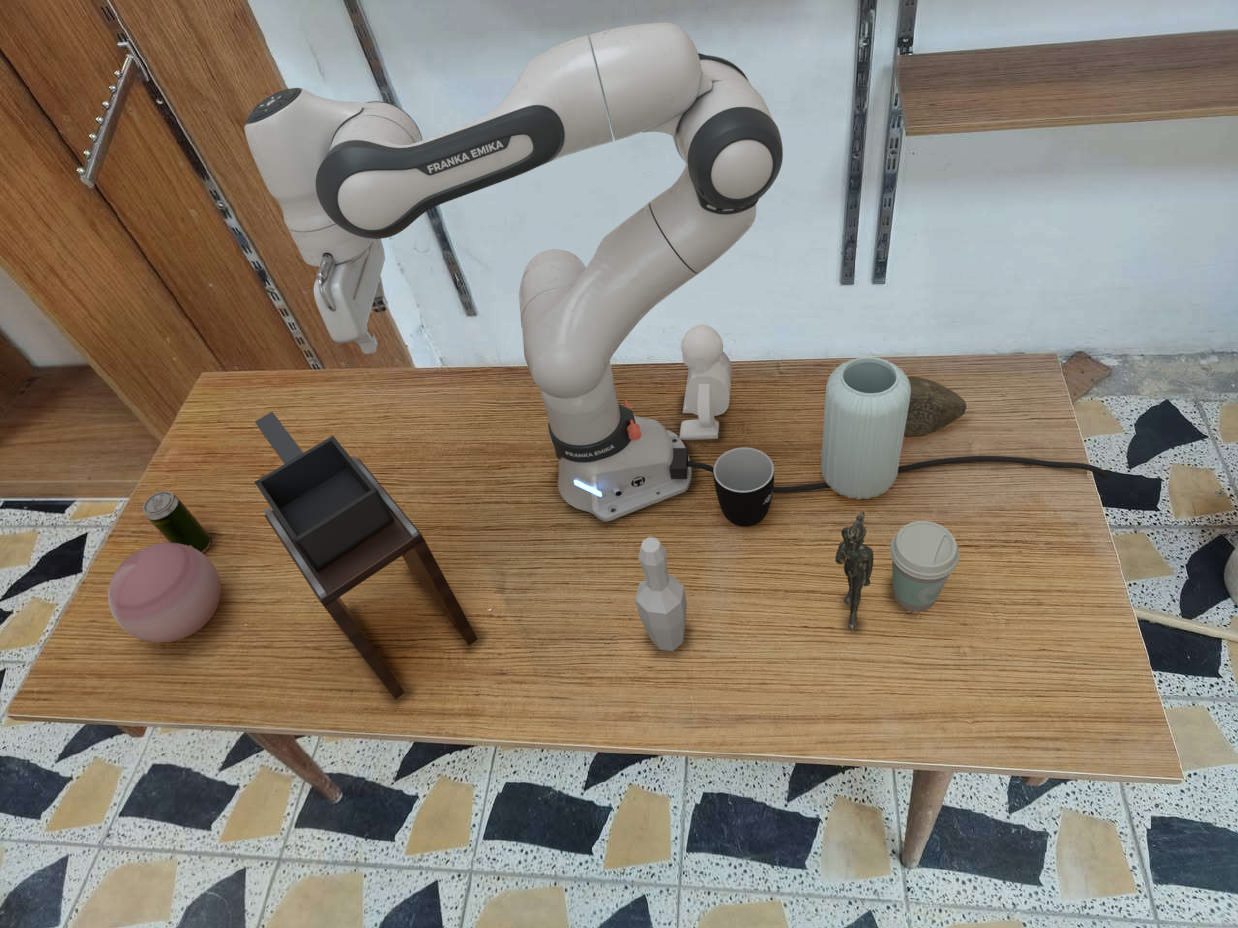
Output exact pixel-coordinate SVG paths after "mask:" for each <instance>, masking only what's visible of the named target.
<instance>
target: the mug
mask: <svg viewBox="0 0 1238 928" xmlns="http://www.w3.org/2000/svg"><path fill="white" fill-rule="evenodd" d="M713 467H714V469H713V473H712V475H713V483H714V489H715V494H716V498H717V501H718V504H719V507H720V510H721V512H722V514H723V515H724V517H725V518H726V520H727V521H729V523H731V524H732V525H735V526H737V527H741V528H750V527H753V526H755V525H758V524H760V523H761V522H763V520H764V519H765V518H766V517H767V514H768V513H769V511H770V507H771V504H772V500H773V494H774V493H773V487H775V486H774V485H775V465H774V462H773V461H772V459H771V457H770V456H769V455H767V453H765V452H763V451H762V450H759V449H757V448H753V447H744V446H743V447H736V448H732V449H729V450H727V451H725V452H723V453H722V454H721V455H720V456H719V457H718V458H717V459H716V461H715V462H714V465H713Z"/></svg>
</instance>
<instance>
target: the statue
mask: <svg viewBox="0 0 1238 928" xmlns="http://www.w3.org/2000/svg"><path fill="white" fill-rule="evenodd" d="M865 514H866V512H865V511H864V510H860V512H859V514H858V515H856V517H855V518H856V519H855V522H854V523H853V524H852V525H850V526H845V527H844V528H842V529H841V536H842V539H843V541H840V542H839V544H838V546H837V550H836V553H835V563H836V564H838V565H843V572H844V575H845V576H846V578H847V579H846V580H847V583H848V584H847V585H848V591H847V594H846V595H845V597H844V598H843V602H844V604H845V605H847V606H850V610H849V620H848V625H847V626H848V627H847V628H848V629H849V630H850V631H854V630H856V629H857V627H858V622H857V620H858V619H857V618H858V617H857V614H858V609H859V605H860V603H861V598H862V589H863V587H864V588H866V587H869V586H870V585H871V575H872V574H873V573H872V572H873V567H874V550H873V549H872V547H870V546H868V545H866V544H864V543H865V540H864V538H865V537H866V535H867V527H866V526H865V524H864V521H865V516H866V515H865Z"/></svg>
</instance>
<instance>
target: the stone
mask: <svg viewBox="0 0 1238 928" xmlns="http://www.w3.org/2000/svg"><path fill="white" fill-rule="evenodd" d="M907 377H908V379H909V382H910V386H911V395H910V402H909V408H908V414H907V420H906V425H905V431H904V437H907V438H917V437H925V436H927V435H930V434H933V433H936V432H938V431H940V430H942V429H943V428H945V427H947V426H948V425H950V424H952V423H953V422H955V421H957V420H958V419H960V418H961V417H962V416H964V415H965V413H966V410H967V408H968V407H967V403H966V401H965V400H964V399H963V398H962V397H961V396H960V395H959V394H958V393H957V392H955V391H953V390H951V389H950V388H948V387H946V386H944V385H942V384H940V383H938V382H936V381H934V380H930V379H928V378H924V377H920V376H916V375H910V376H907Z"/></svg>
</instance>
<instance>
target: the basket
mask: <svg viewBox="0 0 1238 928" xmlns="http://www.w3.org/2000/svg"><path fill="white" fill-rule="evenodd" d="M254 423H255V425H256V426H257V427H258V429H259V430H260V432H261V433H262V435H263V436H264V438H265V439H266V440H267V442H268V443H269V444H270V446H271V448H272V449H273V450H274V451H275V453H276V455H277V456H278V457H279V458H280V460H281V461H282V463H283V464H282V465H281V466H279V467H277V468H275V469H273V470H272V471H271V472H269V473H266V475H264V476H262V477H261V478H259V479H256V481H254V484H255V485H256V488H258V490H259V491H260V493H261V494H262V496H263V497H264V499H265V501H266V502H267V503H268V505H269V507H270V509H271V510H273V511H274V512H275V514H276V515H277V517H278V518H279V520H280V521H281V523H282V524H283V526H284V527H285V529H286V530H287V532H288V533H289V535H290V536H291V538H292V539H293V541H294V542H295V544H296V545H297V546H298V548H299V549H300V551H301V552H302V553H303V555H304V556H305V557H306V559H307V560H308V561H309V563H310V564H311V565H312V567H313V568H314V570H315V571H317V570H319V569H320V568H322V567H323V566H325V565H326V564H328V563H329V562H331V561H333V560H334V559H336V558H337V557H339V556H340V555H342V554H343V553H345V552H346V551H348V550H350V549H351V548H353V547H354V546H356V545H357V544H359V543H360V542H362V541H363V540H365V539H366V538H368V537H370V536H371V535H373V534H374V533H376V532H377V531H379V530H380V529H382V528H383V527H385V526H387V525H388V524H390V523H391V522H393V521H394V518H393V516H392V515H391V513H390V511H389V509H388V507H387V506H386V504H385V502H384V500H383V499H382V497H381V495H380V493H379V491H378V490H377V489H376V487H375V486H374V485H373V484H372V482H371V481H370V480H369V479H368V478H367V476H366V475H365V474H364V473H363V471H362V470H361V469H360V468H359V467H358V465H357V464H356V463H355V462H354V460H353V459H352V458H351V457H352V456H351V455H350V454H349V453H348V452H347V450H346V449H345V448H344V446H343V445H342V444H341V443H340V442H339V441H338V440H337V438H336V437H335V436H334V435H331V436H329V437H328V438H326V439H325V440H323V441H322V442H320V443H318V444H316V445H315V446H313V447H311V448H309V449H308V450H306V451H303V450H302V449H301V448H300V445H298V443H297V442H296V440H295V439H294V438H293V437H292V436H291V434H290V433H289V431H287V429H286V428H285V426H284V425H283V424H282V422H281V421H280V420H279V418H278V417H277V416H276V414H275V413H274V412H273V411H271V412H269V413H267V414H266V415H263V416H261V417H260V418H258V419H256V420H255V421H254Z"/></svg>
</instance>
